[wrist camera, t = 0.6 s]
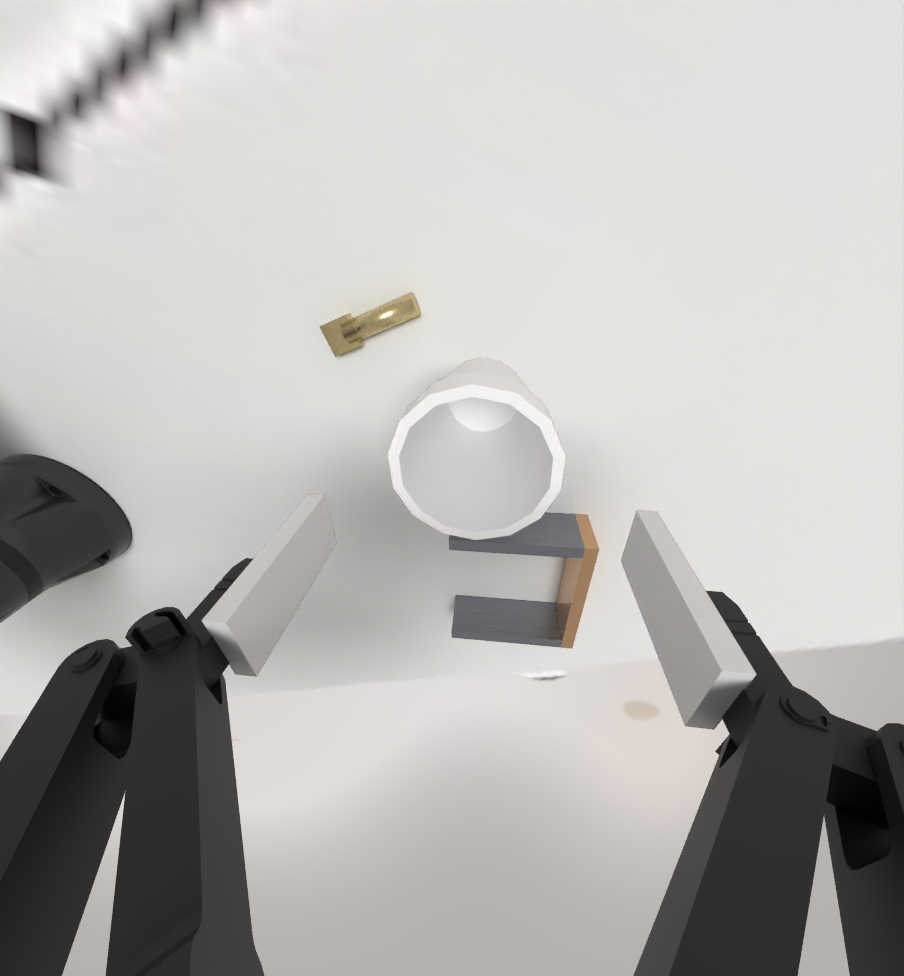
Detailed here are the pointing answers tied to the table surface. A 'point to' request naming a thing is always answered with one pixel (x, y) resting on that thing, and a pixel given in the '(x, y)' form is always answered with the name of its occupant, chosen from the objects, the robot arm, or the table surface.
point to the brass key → (368, 323)
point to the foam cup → (477, 453)
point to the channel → (530, 617)
